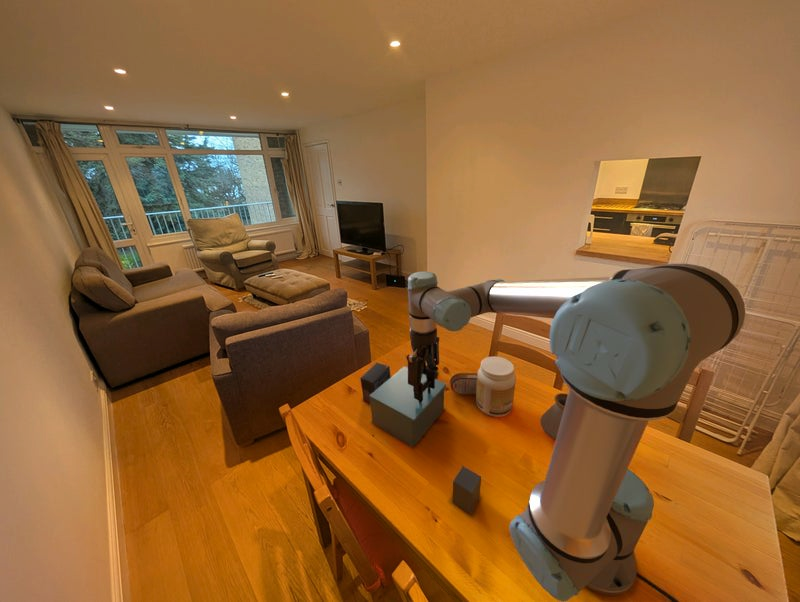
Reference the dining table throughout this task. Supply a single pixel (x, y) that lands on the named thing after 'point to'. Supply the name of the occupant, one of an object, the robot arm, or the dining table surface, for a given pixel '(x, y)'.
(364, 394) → the small box
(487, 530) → the dining table surface
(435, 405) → the teal open box
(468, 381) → the tin
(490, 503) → the dining table surface
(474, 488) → the block
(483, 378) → the supplement tub
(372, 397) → the lid
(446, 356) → the dining table surface
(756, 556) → the dining table surface
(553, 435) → the coffee pot
